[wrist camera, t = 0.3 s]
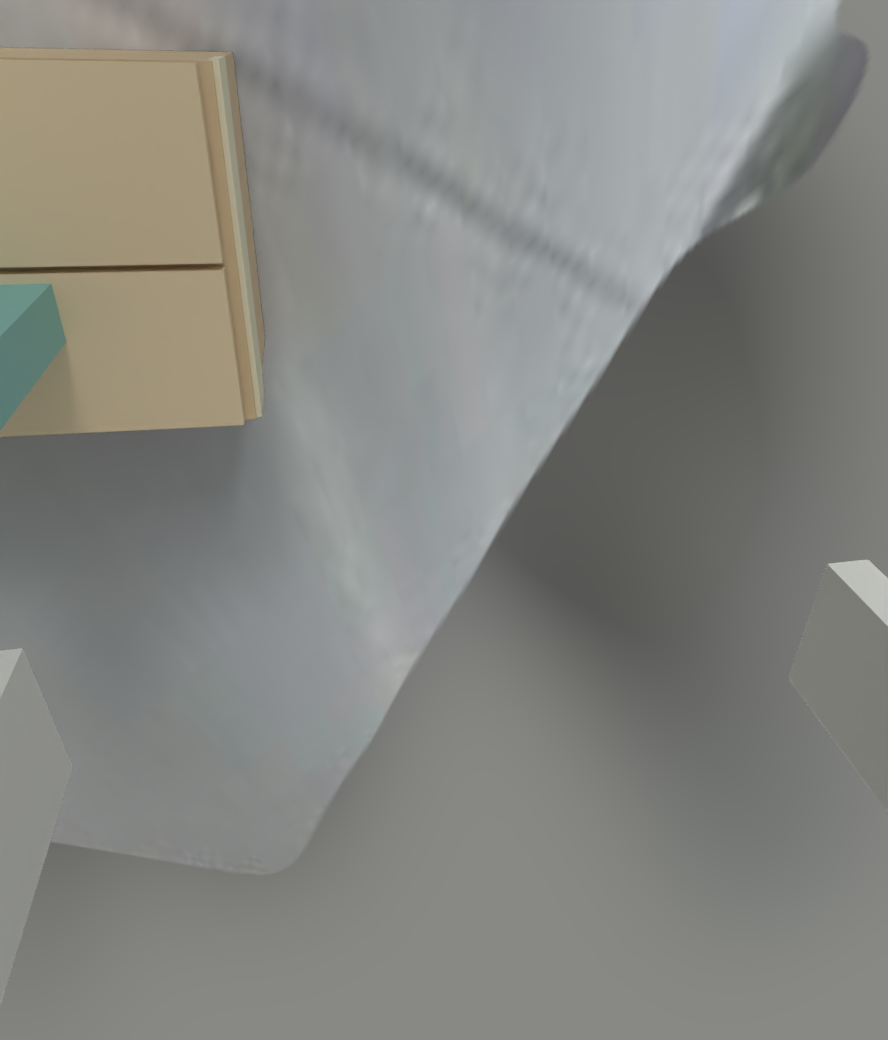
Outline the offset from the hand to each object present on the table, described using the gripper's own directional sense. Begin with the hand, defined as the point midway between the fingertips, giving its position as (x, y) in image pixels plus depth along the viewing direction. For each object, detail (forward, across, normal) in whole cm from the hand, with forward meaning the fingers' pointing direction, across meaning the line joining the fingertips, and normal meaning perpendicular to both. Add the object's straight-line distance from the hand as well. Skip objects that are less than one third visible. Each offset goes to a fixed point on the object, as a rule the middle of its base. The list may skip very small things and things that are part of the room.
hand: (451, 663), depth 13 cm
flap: (+18, -14, -1) cm, 23 cm away
